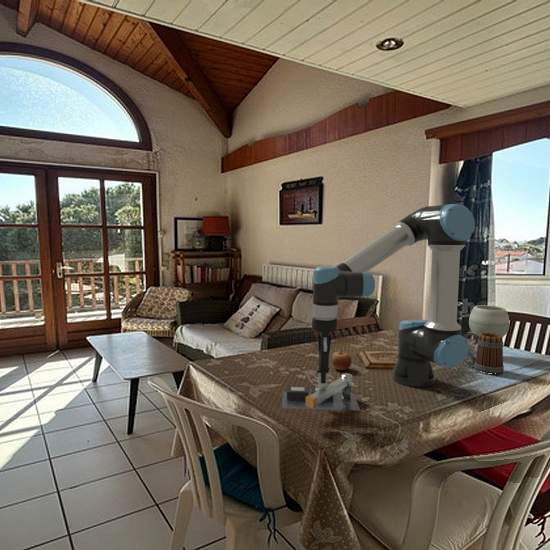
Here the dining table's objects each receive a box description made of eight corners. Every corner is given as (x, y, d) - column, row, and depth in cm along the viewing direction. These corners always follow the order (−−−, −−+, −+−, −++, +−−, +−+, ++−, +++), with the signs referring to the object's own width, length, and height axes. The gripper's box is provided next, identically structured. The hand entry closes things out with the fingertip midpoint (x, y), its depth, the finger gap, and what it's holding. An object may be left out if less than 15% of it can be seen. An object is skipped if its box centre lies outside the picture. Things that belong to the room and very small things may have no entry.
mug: (506, 370, 161) (509, 334, 159) (499, 377, 153) (502, 339, 151) (465, 362, 171) (467, 328, 170) (457, 368, 164) (459, 332, 162)
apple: (336, 364, 166) (337, 346, 165) (354, 368, 162) (354, 349, 161) (327, 370, 160) (328, 350, 159) (345, 374, 155) (346, 354, 154)
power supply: (331, 394, 133) (331, 386, 132) (333, 400, 128) (333, 392, 127) (310, 393, 133) (311, 386, 133) (311, 399, 128) (311, 392, 128)
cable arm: (344, 381, 132) (344, 372, 132) (354, 384, 130) (354, 374, 129) (304, 406, 113) (304, 395, 112) (314, 409, 111) (314, 398, 110)
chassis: (353, 396, 133) (354, 382, 133) (360, 414, 120) (360, 397, 120) (282, 394, 134) (282, 380, 134) (281, 412, 122) (281, 395, 121)
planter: (513, 357, 178) (517, 308, 176) (495, 363, 169) (499, 312, 167) (478, 348, 192) (481, 303, 189) (459, 354, 183) (462, 306, 180)
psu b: (307, 393, 133) (308, 386, 133) (308, 399, 128) (308, 392, 128) (287, 392, 133) (287, 385, 133) (286, 399, 128) (287, 391, 128)
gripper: (311, 312, 126) (309, 383, 129) (313, 322, 114) (311, 400, 116) (335, 313, 126) (333, 384, 129) (339, 322, 113) (336, 401, 116)
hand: (322, 391), depth 123 cm, fingers closed
